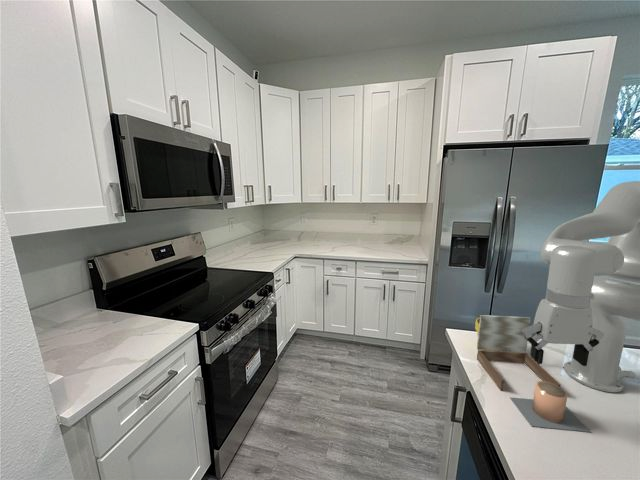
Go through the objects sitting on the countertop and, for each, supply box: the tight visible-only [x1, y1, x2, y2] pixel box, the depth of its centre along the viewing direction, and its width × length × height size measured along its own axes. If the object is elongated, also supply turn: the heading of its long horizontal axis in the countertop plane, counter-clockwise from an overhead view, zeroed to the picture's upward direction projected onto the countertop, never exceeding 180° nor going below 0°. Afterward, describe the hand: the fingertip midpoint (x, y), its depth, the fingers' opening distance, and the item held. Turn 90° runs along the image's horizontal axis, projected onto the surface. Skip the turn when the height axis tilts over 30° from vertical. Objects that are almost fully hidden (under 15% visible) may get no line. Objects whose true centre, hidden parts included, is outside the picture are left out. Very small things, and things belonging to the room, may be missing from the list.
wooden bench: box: [476, 314, 562, 392], centre depth 79 cm, size 15×15×16 cm
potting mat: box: [509, 396, 592, 433], centre depth 66 cm, size 13×9×1 cm
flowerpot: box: [532, 380, 568, 423], centre depth 65 cm, size 6×6×7 cm
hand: (557, 361), depth 64 cm, fingers open, 9 cm apart
